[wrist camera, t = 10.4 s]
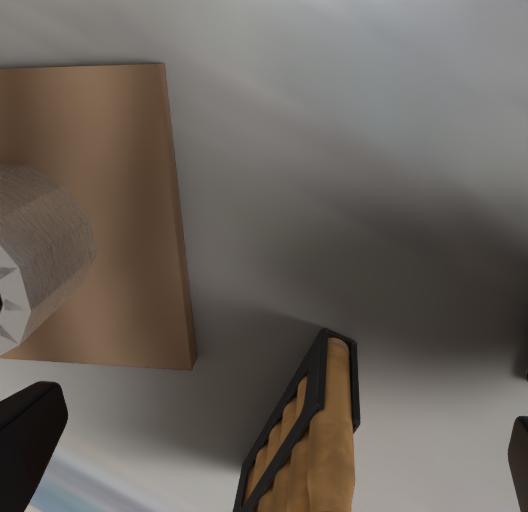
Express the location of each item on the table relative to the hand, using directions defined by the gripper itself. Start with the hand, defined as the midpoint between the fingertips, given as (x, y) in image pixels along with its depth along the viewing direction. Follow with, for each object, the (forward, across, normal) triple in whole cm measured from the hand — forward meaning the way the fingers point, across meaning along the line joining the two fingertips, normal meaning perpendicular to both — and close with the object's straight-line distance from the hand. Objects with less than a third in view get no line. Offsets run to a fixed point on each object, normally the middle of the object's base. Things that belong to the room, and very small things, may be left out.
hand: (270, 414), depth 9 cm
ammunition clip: (+12, +1, +11) cm, 16 cm away
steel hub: (+11, +13, 0) cm, 17 cm away
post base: (+12, +13, +1) cm, 17 cm away
